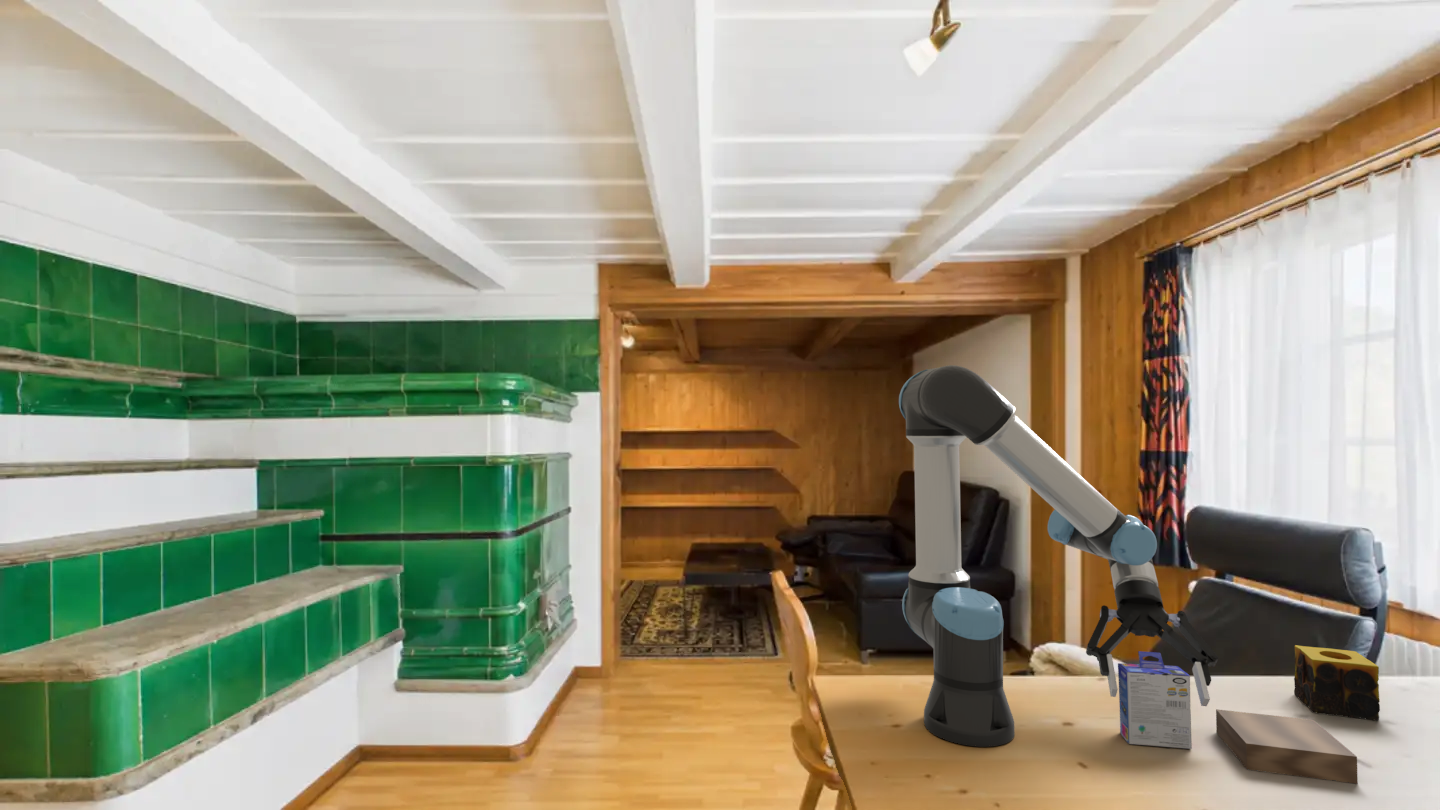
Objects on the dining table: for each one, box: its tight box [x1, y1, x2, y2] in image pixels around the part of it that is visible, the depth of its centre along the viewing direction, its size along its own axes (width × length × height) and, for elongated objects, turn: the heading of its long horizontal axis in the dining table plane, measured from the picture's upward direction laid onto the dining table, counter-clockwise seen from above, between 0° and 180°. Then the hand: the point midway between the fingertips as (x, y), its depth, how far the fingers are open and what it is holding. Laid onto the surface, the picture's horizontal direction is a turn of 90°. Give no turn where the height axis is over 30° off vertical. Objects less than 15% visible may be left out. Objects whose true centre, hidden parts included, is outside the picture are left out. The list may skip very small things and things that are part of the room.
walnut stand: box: [1215, 708, 1359, 785], centre depth 116 cm, size 14×14×4 cm
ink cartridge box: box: [1117, 651, 1193, 750], centre depth 122 cm, size 10×6×14 cm, turn 78°
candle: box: [1293, 644, 1381, 721], centre depth 136 cm, size 10×10×10 cm
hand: (1159, 698), depth 121 cm, fingers open, 13 cm apart
